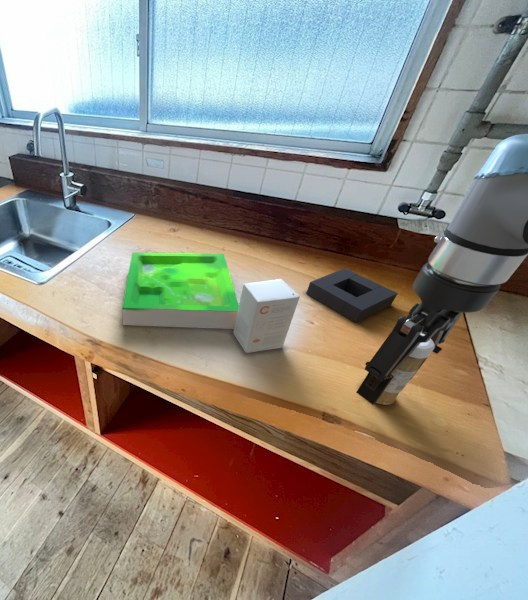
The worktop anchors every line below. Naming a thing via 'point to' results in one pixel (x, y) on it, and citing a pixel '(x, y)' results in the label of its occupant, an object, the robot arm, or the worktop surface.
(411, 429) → the worktop surface
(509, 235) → the robot arm
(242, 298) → the small box
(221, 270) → the green board game box
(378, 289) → the dark grey square frame
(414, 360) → the sprinkles bottle
